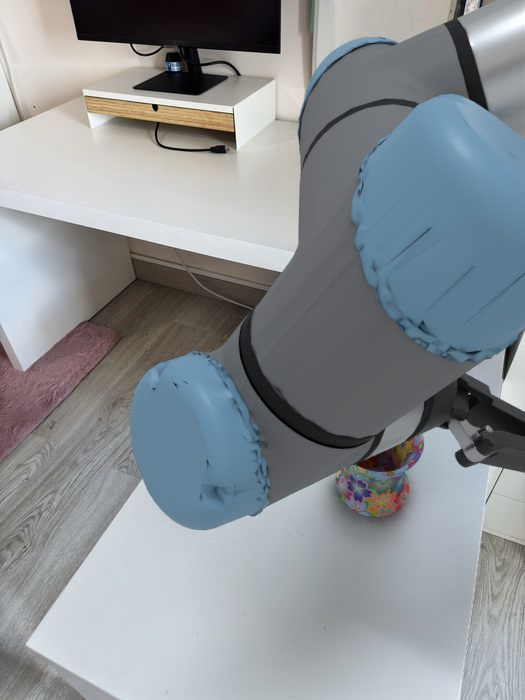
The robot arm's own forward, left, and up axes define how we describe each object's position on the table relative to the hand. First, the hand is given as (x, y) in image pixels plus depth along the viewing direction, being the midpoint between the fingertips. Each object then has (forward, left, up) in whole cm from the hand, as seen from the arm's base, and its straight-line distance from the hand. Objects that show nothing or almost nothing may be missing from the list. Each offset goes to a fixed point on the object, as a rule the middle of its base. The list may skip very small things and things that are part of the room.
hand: (506, 346), depth 46 cm
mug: (+2, +10, -21) cm, 24 cm away
